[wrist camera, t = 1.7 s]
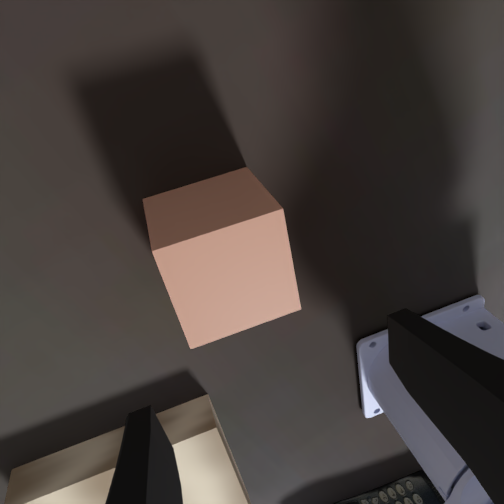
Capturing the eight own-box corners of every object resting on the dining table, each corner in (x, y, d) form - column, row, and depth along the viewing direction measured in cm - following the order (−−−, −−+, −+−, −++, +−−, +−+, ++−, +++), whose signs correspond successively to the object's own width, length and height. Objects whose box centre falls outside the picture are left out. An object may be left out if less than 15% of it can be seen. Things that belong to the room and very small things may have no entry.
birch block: (206, 388, 27) (216, 427, 24) (245, 486, 33) (257, 525, 31) (12, 461, 25) (2, 512, 22) (94, 550, 31) (93, 597, 29)
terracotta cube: (246, 166, 20) (283, 208, 16) (265, 253, 22) (301, 309, 18) (142, 198, 19) (151, 251, 15) (174, 284, 22) (190, 349, 18)
